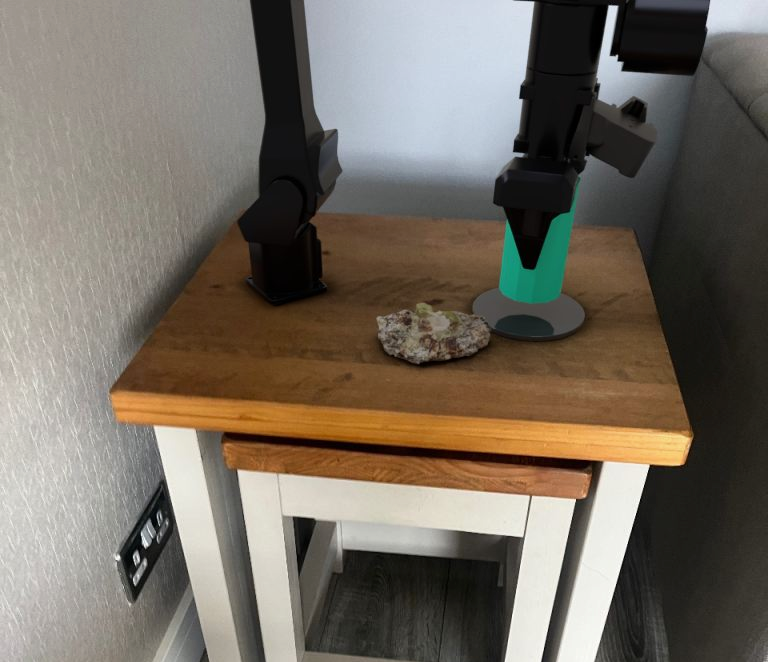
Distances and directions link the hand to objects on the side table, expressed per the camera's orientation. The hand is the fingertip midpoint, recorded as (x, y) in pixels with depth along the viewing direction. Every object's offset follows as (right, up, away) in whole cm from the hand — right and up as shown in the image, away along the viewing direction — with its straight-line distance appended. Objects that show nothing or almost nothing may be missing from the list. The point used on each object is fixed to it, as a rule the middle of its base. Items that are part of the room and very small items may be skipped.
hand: (534, 254), depth 73 cm
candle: (0, -3, +2) cm, 4 cm away
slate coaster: (0, -5, +4) cm, 6 cm away
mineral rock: (-10, -9, -1) cm, 13 cm away
